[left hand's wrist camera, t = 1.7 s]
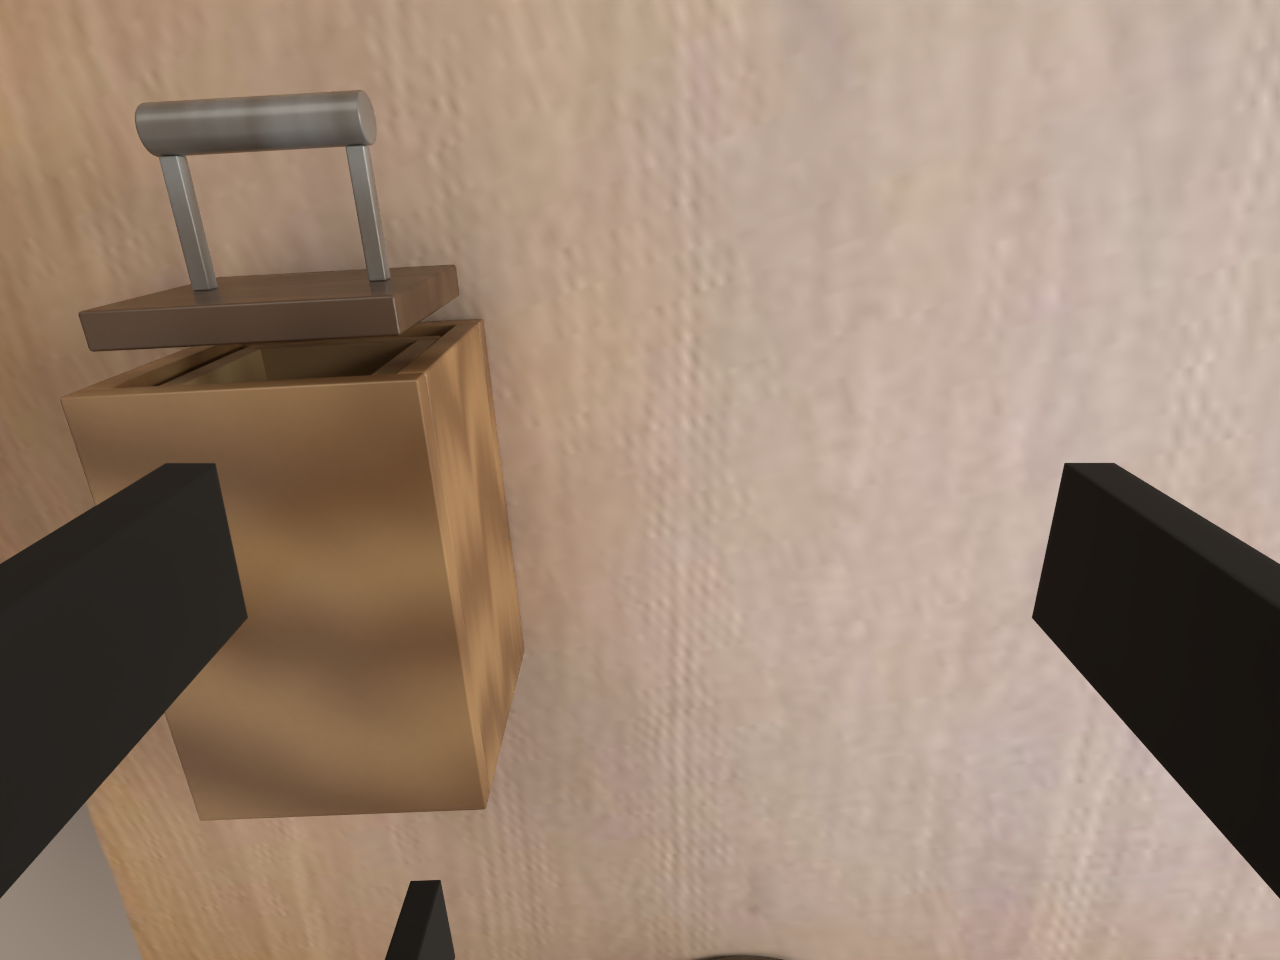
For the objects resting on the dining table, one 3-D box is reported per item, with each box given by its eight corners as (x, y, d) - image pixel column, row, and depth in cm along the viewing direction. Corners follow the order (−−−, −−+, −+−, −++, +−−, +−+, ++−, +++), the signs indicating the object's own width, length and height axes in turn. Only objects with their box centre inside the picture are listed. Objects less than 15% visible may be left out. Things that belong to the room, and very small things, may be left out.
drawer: (178, 114, 28) (7, 92, 21) (433, 99, 28) (357, 72, 21) (297, 607, 36) (205, 724, 28) (500, 598, 36) (462, 713, 28)
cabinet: (228, 331, 32) (58, 397, 23) (483, 318, 32) (417, 379, 23) (308, 660, 38) (199, 821, 29) (524, 651, 38) (485, 810, 29)
